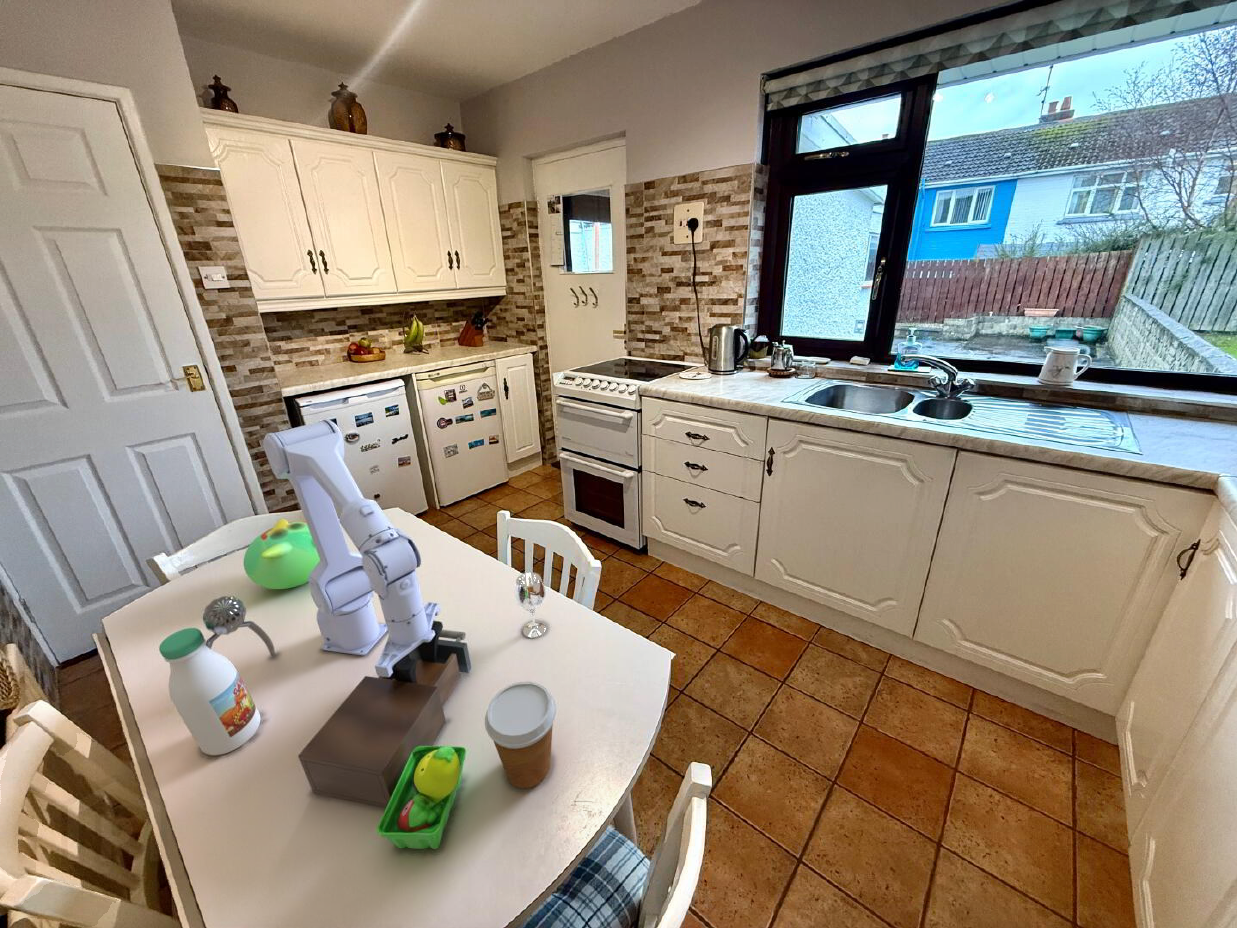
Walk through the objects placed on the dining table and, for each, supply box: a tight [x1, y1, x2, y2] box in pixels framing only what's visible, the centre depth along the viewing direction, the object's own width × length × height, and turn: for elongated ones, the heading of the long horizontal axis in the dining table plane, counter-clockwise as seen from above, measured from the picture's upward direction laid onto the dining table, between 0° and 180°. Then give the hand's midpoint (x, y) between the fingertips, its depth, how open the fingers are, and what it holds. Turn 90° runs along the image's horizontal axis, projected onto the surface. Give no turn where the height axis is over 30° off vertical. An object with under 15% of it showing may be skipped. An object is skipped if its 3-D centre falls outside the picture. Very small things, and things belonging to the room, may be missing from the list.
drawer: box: [377, 628, 472, 708], centre depth 82 cm, size 17×11×6 cm
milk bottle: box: [158, 627, 261, 756], centre depth 72 cm, size 8×8×20 cm
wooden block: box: [392, 660, 444, 686], centre depth 81 cm, size 8×5×3 cm, turn 79°
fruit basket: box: [376, 745, 467, 850], centre depth 62 cm, size 11×9×11 cm
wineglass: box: [514, 571, 547, 639], centre depth 94 cm, size 6×6×12 cm
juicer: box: [202, 595, 276, 657], centre depth 78 cm, size 10×11×30 cm
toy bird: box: [243, 518, 320, 590], centre depth 110 cm, size 18×17×15 cm
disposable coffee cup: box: [484, 680, 557, 789], centre depth 68 cm, size 10×10×12 cm
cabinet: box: [297, 675, 447, 809], centre depth 71 cm, size 14×13×8 cm
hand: (420, 675), depth 80 cm, fingers open, 5 cm apart
